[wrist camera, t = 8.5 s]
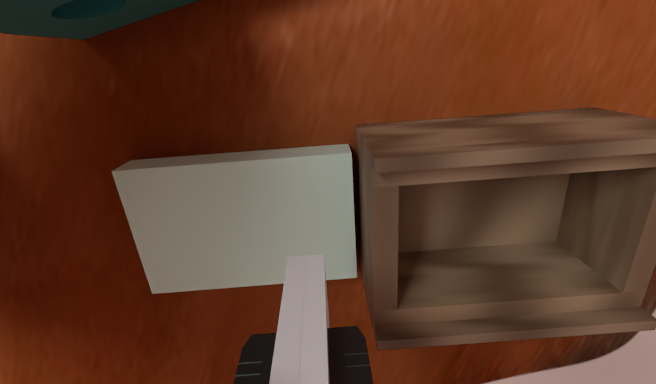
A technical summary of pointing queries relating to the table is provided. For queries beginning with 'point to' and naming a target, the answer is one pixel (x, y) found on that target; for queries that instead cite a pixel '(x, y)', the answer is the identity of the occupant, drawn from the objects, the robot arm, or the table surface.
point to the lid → (239, 215)
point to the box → (507, 226)
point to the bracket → (77, 16)
